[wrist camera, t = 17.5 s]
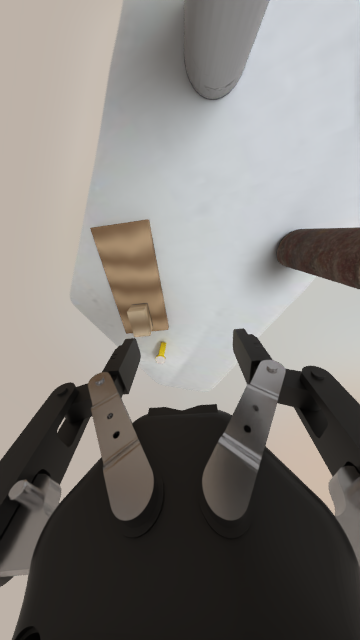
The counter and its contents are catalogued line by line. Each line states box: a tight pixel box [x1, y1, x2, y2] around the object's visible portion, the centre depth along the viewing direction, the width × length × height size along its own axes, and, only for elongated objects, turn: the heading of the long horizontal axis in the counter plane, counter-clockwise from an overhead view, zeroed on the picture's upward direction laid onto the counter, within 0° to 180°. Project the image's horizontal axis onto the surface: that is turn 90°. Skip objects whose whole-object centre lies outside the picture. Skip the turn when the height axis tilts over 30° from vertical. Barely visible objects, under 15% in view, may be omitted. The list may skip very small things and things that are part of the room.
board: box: [90, 220, 169, 334], centre depth 39 cm, size 26×12×2 cm, turn 7°
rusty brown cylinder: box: [277, 228, 360, 289], centre depth 26 cm, size 8×7×20 cm
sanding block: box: [127, 303, 153, 337], centre depth 40 cm, size 7×4×4 cm, turn 7°
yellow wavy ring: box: [155, 342, 166, 364], centre depth 46 cm, size 6×3×6 cm, turn 166°
